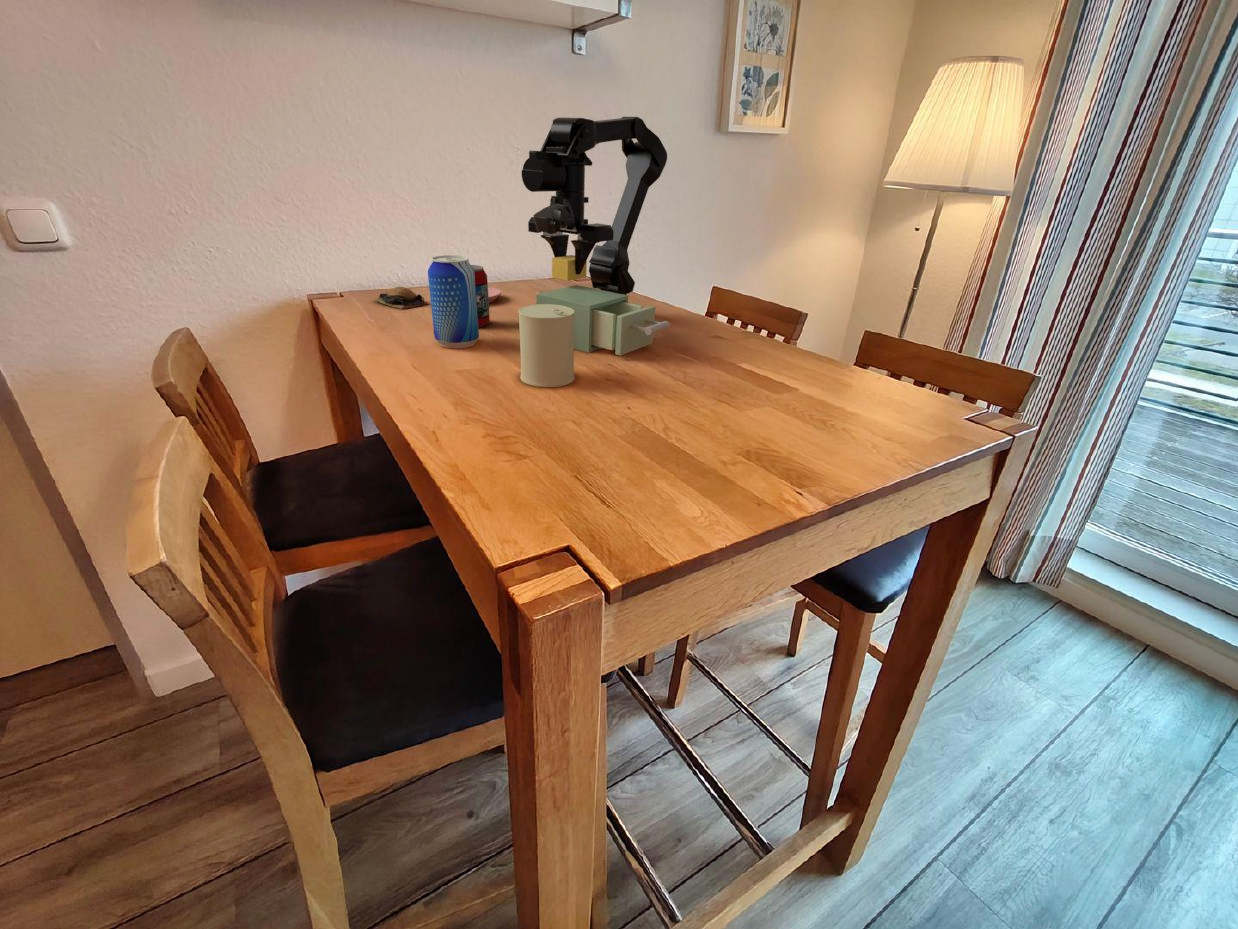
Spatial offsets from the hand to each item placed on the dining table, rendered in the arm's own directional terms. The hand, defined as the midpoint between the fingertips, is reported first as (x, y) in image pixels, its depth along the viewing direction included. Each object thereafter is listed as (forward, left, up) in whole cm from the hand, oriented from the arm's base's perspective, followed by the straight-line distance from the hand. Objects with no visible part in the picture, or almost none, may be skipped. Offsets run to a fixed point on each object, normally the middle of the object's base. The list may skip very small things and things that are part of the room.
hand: (569, 272), depth 123 cm
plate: (+3, -34, -12) cm, 36 cm away
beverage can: (+15, -14, -12) cm, 24 cm away
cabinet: (+3, +8, -12) cm, 15 cm away
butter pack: (0, 0, -1) cm, 1 cm away
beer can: (+25, -4, -12) cm, 28 cm away
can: (+23, +22, -12) cm, 34 cm away
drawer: (+2, +18, -11) cm, 21 cm away
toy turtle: (+19, -40, -12) cm, 46 cm away
